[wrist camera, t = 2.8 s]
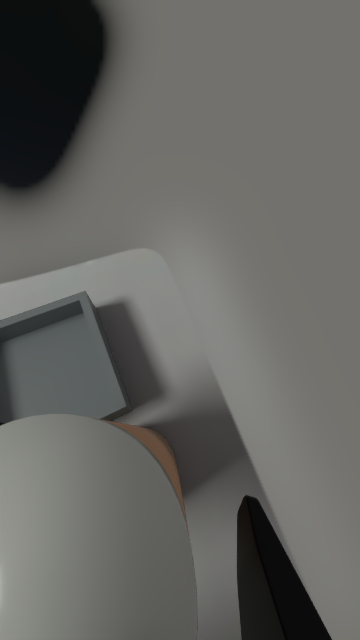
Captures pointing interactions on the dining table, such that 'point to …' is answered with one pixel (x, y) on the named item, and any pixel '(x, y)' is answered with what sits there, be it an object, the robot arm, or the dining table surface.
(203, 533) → the dining table surface
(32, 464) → the brown cylinder grey top
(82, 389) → the tray
